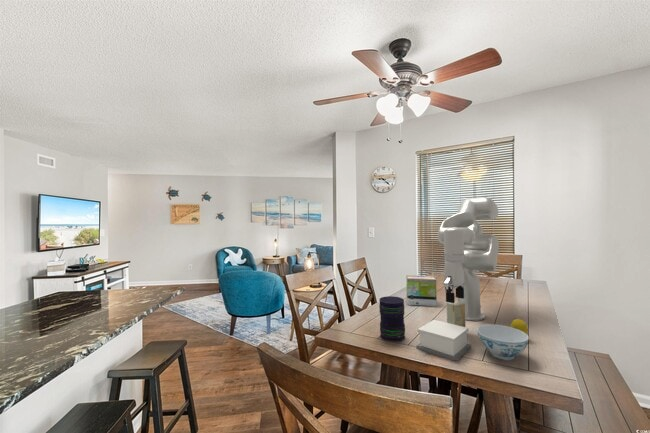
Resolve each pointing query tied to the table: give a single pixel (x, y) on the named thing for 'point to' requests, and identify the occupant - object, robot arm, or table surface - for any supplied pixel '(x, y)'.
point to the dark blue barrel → (392, 319)
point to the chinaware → (503, 340)
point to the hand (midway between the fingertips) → (455, 300)
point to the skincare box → (456, 313)
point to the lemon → (519, 325)
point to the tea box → (421, 290)
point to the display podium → (443, 339)
